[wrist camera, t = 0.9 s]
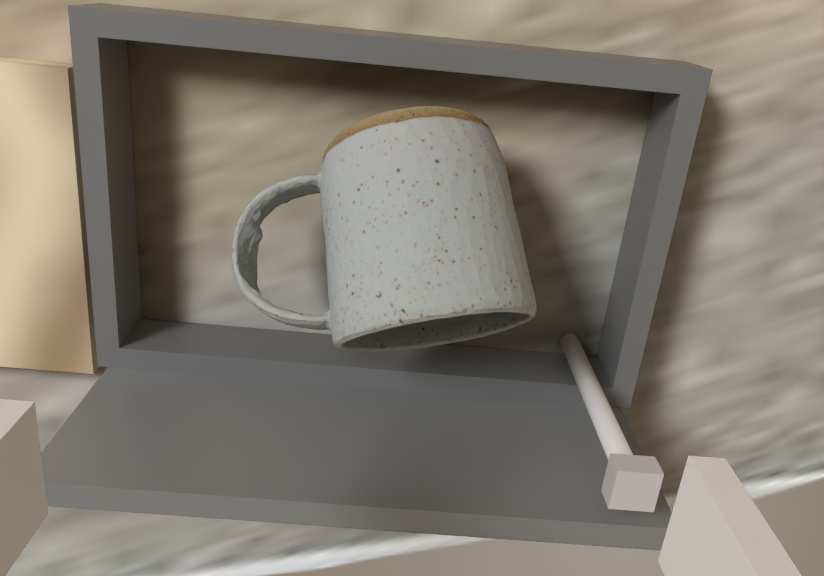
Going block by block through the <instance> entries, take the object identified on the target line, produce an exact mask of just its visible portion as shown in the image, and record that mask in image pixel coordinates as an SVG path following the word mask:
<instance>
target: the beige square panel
mask: <svg viewBox="0 0 824 576" xmlns="http://www.w3.org/2000/svg"><path fill="white" fill-rule="evenodd" d="M0 367H12V368H24V369H37V370H50V371H62V372H75V373H87V374H94V373H95V371H96V370H97V369H98V368H99V367H98V365H97V353H96V341H95V328H94V316H93V304H92V292H91V280H90V267H89V255H88V243H87V231H86V218H85V206H84V194H83V182H82V170H81V157H80V145H79V133H78V121H77V108H76V96H75V84H74V72H73V65H72V64H62V63H51V62H41V61H31V60H20V59H10V58H0Z"/></svg>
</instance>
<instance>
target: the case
mask: <svg viewBox="0 0 824 576" xmlns="http://www.w3.org/2000/svg"><path fill="white" fill-rule="evenodd" d="M68 11H69V23H70V35H71V47H72V60H73V72H74V84H75V96H76V108H77V121H78V133H79V145H80V157H81V170H82V182H83V194H84V206H85V218H86V231H87V243H88V255H89V267H90V280H91V292H92V304H93V316H94V328H95V341H96V353H97V365H98V367H108V368H107V369H106V370H105V372H104V373H103V374H102V375H101V377H100V378H99V379H98V381H97V382H96V383H95V384H94V386H93V387H92V388H91V390H90V391H89V392H88V393H87V395H86V396H85V397H84V399H83V400H82V401H81V402H80V404H79V405H78V406H77V408H76V409H75V410H74V411H73V413H72V414H71V415H70V417H69V418H68V419H67V420H66V422H65V423H64V424H63V426H62V427H61V428H60V429H59V431H58V432H57V433H56V435H55V436H54V437H53V438H52V440H51V441H50V442H49V444H48V445H47V446H46V448H45V449H44V450H43V451H42V453H41V459H42V467H43V475H44V483H45V492H46V500H47V506H51V507H65V508H79V509H92V510H106V511H120V512H134V513H148V514H162V515H176V516H190V517H204V518H218V519H231V520H245V521H259V522H273V523H287V524H301V525H315V526H329V527H343V528H357V529H370V530H384V531H398V532H412V533H426V534H440V535H454V536H468V537H482V538H496V539H510V540H524V541H537V542H552V543H565V544H579V545H594V546H607V547H621V548H635V549H649V550H661V548H662V545H663V541H664V538H665V535H666V531H667V528H668V524H669V521H670V517H671V514H672V512H671V510H670V508H669V506H668V504H667V502H666V500H665V498H664V496H663V494H662V492H661V490H660V488H661V484H662V481H663V477H664V473H663V471H662V469H661V467H660V465H659V463H658V462H657V460H656V458H655V457H653V456H643V454H642V452H641V450H640V448H639V446H638V443H637V441H636V439H635V437H634V435H633V433H632V431H631V429H630V427H629V425H628V423H627V421H626V419H625V417H624V415H623V413H622V411H621V409H620V408H625V409H630V406H631V402H632V397H633V393H634V389H635V385H636V381H637V377H638V373H639V369H640V365H641V361H642V357H643V353H644V348H645V344H646V340H647V336H648V332H649V328H650V324H651V320H652V316H653V312H654V308H655V304H656V299H657V295H658V291H659V287H660V283H661V279H662V275H663V271H664V267H665V263H666V259H667V255H668V250H669V246H670V242H671V238H672V234H673V230H674V226H675V222H676V218H677V214H678V210H679V206H680V202H681V197H682V193H683V189H684V185H685V181H686V177H687V173H688V169H689V165H690V161H691V157H692V153H693V148H694V144H695V140H696V136H697V132H698V128H699V124H700V120H701V116H702V112H703V108H704V104H705V99H706V95H707V91H708V87H709V83H710V79H711V75H712V71H713V70H712V69H708V68H705V67H702V66H698V65H695V64H691V63H688V62H684V61H674V60H664V59H654V58H644V57H633V56H623V55H613V54H603V53H593V52H583V51H573V50H563V49H553V48H543V47H533V46H523V45H513V44H503V43H493V42H483V41H473V40H463V39H453V38H443V37H433V36H423V35H413V34H403V33H393V32H383V31H373V30H363V29H353V28H343V27H333V26H323V25H313V24H303V23H292V22H282V21H272V20H262V19H252V18H242V17H232V16H222V15H212V14H202V13H192V12H182V11H172V10H162V9H152V8H142V7H132V6H122V5H112V4H102V3H98V4H84V5H71V6H68ZM127 40H131V41H142V42H152V43H162V44H172V45H182V46H193V47H203V48H213V49H223V50H234V51H244V52H254V53H264V54H274V55H285V56H295V57H305V58H315V59H325V60H336V61H346V62H356V63H366V64H377V65H387V66H397V67H407V68H417V69H428V70H438V71H448V72H458V73H469V74H479V75H489V76H499V77H509V78H520V79H530V80H540V81H550V82H561V83H571V84H581V85H591V86H601V87H612V88H622V89H632V90H642V91H653V92H654V96H653V100H652V105H651V110H650V114H649V119H648V123H647V128H646V133H645V137H644V142H643V146H642V151H641V156H640V160H639V165H638V169H637V174H636V179H635V183H634V188H633V192H632V197H631V202H630V206H629V211H628V215H627V220H626V224H625V229H624V234H623V238H622V243H621V247H620V252H619V257H618V261H617V266H616V270H615V275H614V280H613V284H612V289H611V293H610V298H609V303H608V307H607V312H606V316H605V321H604V326H603V330H602V335H601V339H600V344H599V349H598V353H597V357H595V356H586V354H585V352H584V350H583V348H582V346H581V344H580V342H579V339H578V337H577V336H576V335H575V334H573V333H567V334H564V335H563V336H562V337H561V339H560V345H561V348H562V350H563V353H564V354H558V353H546V352H534V351H522V350H510V349H498V348H486V347H474V346H462V345H450V344H443V345H438V346H430V347H425V348H413V349H405V350H395V351H392V350H386V351H376V352H358V351H348V350H342V349H338V348H337V347H336V346H335V345H334V343H333V340H332V335H328V334H316V333H304V332H292V331H280V330H268V329H256V328H244V327H232V326H219V325H207V324H195V323H183V322H171V321H159V320H147V319H142V309H141V290H140V272H139V253H138V234H137V216H136V197H135V178H134V160H133V141H132V122H131V104H130V85H129V66H128V48H127Z"/></svg>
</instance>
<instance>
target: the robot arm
mask: <svg viewBox="0 0 824 576" xmlns="http://www.w3.org/2000/svg"><path fill="white" fill-rule="evenodd" d="M47 514H48V508H47V500H46V492H45V483H44V475H43V467H42V459H41V451H40V443H39V434H38V426H37V418H36V410H35V402H30V401H18V400H5V399H0V576H5V575H6V574H7V573H8V571H9V570H10V568H11V567H12V565H13V564H14V562H15V561H16V560H17V558H18V557H19V555H20V554H21V552H22V551H23V549H24V548H25V546H26V545H27V544H28V542H29V541H30V539H31V538H32V536H33V535H34V533H35V532H36V530H37V529H38V528H39V526H40V525H41V523H42V522H43V520H44V519H45V517H46V516H47ZM658 562H659V564H660V566H661V569H662V571H663V574H664V576H801V574H800V573H799V572H798V570H797V568H796V567H795V565H794V563H793V562H792V560H791V559H790V557H789V556H788V554H787V553H786V551H785V550H784V548H783V547H782V545H781V544H780V542H779V540H778V539H777V537H776V536H775V534H774V533H773V531H772V530H771V528H770V527H769V525H768V524H767V522H766V520H765V519H764V517H763V516H762V514H761V513H760V511H759V510H758V508H757V507H756V505H755V503H754V502H753V500H752V499H751V497H750V496H749V494H748V493H747V491H746V490H745V488H744V487H743V485H742V483H741V482H740V480H739V479H738V477H737V476H736V474H735V473H734V471H733V470H732V468H731V467H730V465H729V463H728V462H727V460H726V459H724V458H712V457H700V456H688V459H687V462H686V466H685V469H684V472H683V476H682V479H681V483H680V486H679V490H678V493H677V497H676V500H675V503H674V507H673V510H672V514H671V517H670V521H669V524H668V528H667V531H666V535H665V538H664V541H663V545H662V548H661V552H660V555H659V559H658Z"/></svg>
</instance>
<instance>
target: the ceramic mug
mask: <svg viewBox="0 0 824 576" xmlns="http://www.w3.org/2000/svg"><path fill="white" fill-rule="evenodd" d="M315 193H320V196H321V207H322V218H323V228H324V236H325V246H326V269H327V285H328V299H329V310H328V311H327V312H326V313H325V314H323V315H318V316H314V315H306V314H301V313H296V312H292V311H288V310H285V309H281V308H279V307H277V306H275V305H273V304H272V303H270V302H269V301H268V300H267V299H265V298H264V297H262V295H261V293H260V291H259V289H258V286H257V253H258V245H259V242H260V240H261V239H262V237H263V236H262V230H261V228H260V224H261V223H262V221H263V219H264V218H265V217H266V216H267V215H269V214H270V213H271V212H272V211H273V210H274V209H275V208H276V207H278V206H279V205H281V204H283V203H287V202H289V201H290V200H292V199H295V198H299V197H302V196H305V195H309V194H315ZM232 268H233V273H234V277H235V281H236V283H237V286H238V287H239V289H240V290H241V292H242V293H243V295H244V296H245V297H246V299H247V300H248V301H249V302H250V303H251V304H253V305H254V306H255V307H256V308H257V309H259V310H260V311H262V312H263V313H265V314H266V315H268V316H269V317H271V318H273V319H275V320H277V321H280V322H282V323H285V324H287V325H291V326H296V327H301V328H309V329H317V330H325V329H329V330H331V334H332V340H333V343H334V345H335V346H336V347H337V348H338V349H342V350H348V351H358V352H376V351H386V350H392V351H395V350H405V349H413V348H425V347H430V346H438V345H443V344H448V343H454V342H461V341H466V340H470V339H475V338H481V337H485V336H488V335H491V334H495V333H500V332H502V331H505V330H507V329H512V328H514V327H517V326H519V325H521V324H524V323H526V322H528V321H529V320H531V319H532V318H533V317H534V316H535V315H536V310H537V305H536V299H535V295H534V290H533V287H532V283H531V279H530V274H529V269H528V265H527V261H526V256H525V252H524V247H523V242H522V237H521V233H520V228H519V224H518V220H517V216H516V212H515V208H514V204H513V199H512V194H511V189H510V184H509V179H508V174H507V170H506V166H505V163H504V159H503V156H502V154H501V151H500V149H499V147H498V144H497V142H496V140H495V137H494V135H493V133H492V132H491V130H490V128H489V127H488V125H487V124H486V123H485V122H484V121H482V120H481V119H480V118H478V117H476V116H474V115H472V114H470V113H468V112H466V111H464V110H461V109H456V108H450V107H443V106H416V107H409V108H403V109H396V110H390V111H386V112H383V113H379V114H376V115H373V116H370V117H367V118H364V119H362V120H360V121H358V122H356V123H354V124H352V125H351V126H349V127H347V128H346V129H344V130H343V131H342V132H341V133H340V134H339V135H338V136H337V137H336V138H335V139H334V140H333V141H332V142H331V143H330V144H329V146H328V147H327V149H326V151H325V154H324V156H323V163H322V170H321V171H320V173H318V174H316V175H309V174H307V175H303V176H294V177H292V178H290V179H286V180H283V181H279V182H277V183H276V184H274V185H272V186H270V187H268V188H267V189H265V190H263V191H262V192H260V193H259V194H258V195H257V196H256V197H255V198H254V199H253V200H252V201H251V202H250V204H249V205H248V206H247V207H246V209H245V210H244V212H243V213H242V215H241V216H240V218H239V220H238V223H237V225H236V229H235V232H234V235H233V242H232Z"/></svg>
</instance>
